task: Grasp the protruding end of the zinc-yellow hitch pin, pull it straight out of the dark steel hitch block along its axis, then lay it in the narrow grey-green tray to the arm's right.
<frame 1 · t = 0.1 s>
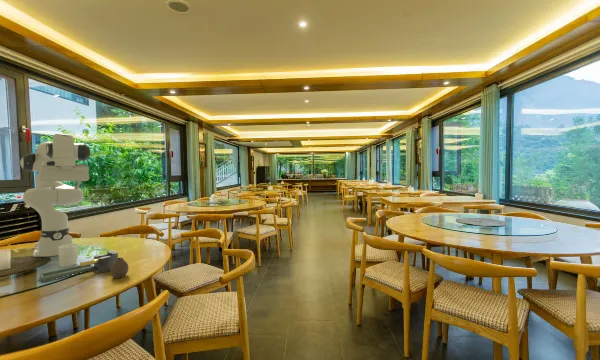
hand: (65, 189, 138), 39 cm above the table, tool pointing down, fingers open, 8 cm apart
hitch block: (105, 269, 131), on the table
hitch pin: (98, 263, 128), point 4 cm above the table, tilted 12°, touching hitch block
tray: (67, 274, 124), on the table
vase: (119, 277, 123), on the table
white cup: (68, 265, 136), on the table
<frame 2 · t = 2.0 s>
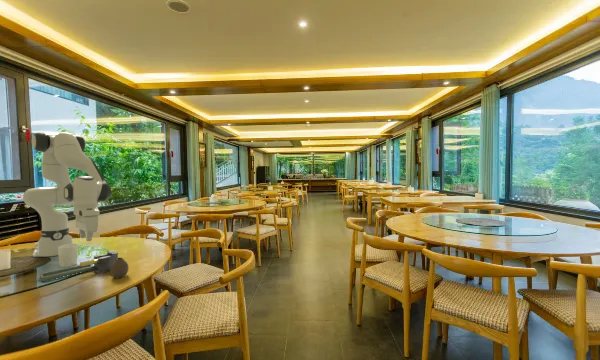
hand: (85, 239, 124), 17 cm above the table, tool pointing down, fingers open, 8 cm apart
nothing on the table moved.
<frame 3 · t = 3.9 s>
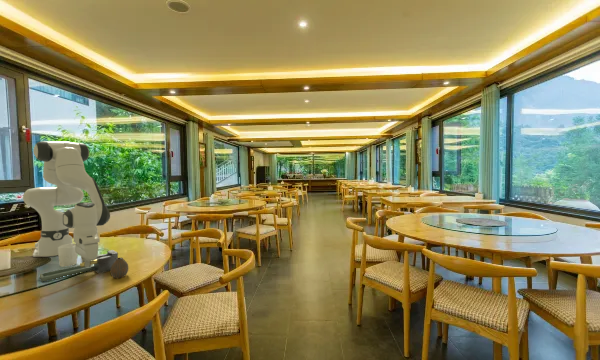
hand: (85, 265, 124), 4 cm above the table, tool pointing down, fingers closed on hitch pin, 2 cm apart
hitch pin: (98, 263, 128), point 4 cm above the table, touching gripper, hitch block
everything else where it was.
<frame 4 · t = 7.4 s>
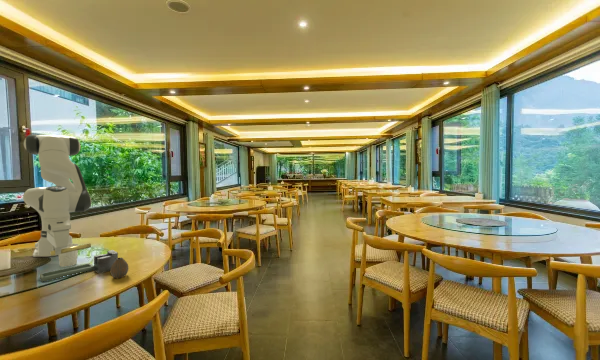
hand: (56, 253, 116), 12 cm above the table, tool pointing down, fingers closed on hitch pin
hitch pin: (71, 251, 120), point 12 cm above the table, touching gripper
everything else where it was.
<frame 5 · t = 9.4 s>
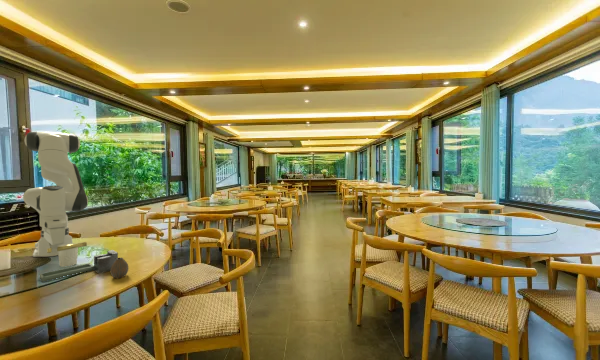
hand: (53, 251, 120), 12 cm above the table, tool pointing down, fingers closed on hitch pin
hitch pin: (67, 249, 124), point 12 cm above the table, touching gripper
everything else where it was.
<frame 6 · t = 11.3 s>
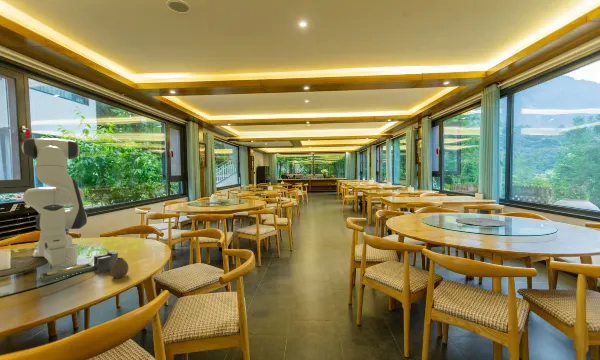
hand: (53, 270, 120), 3 cm above the table, tool pointing down, fingers open, 4 cm apart
hitch pin: (67, 272, 124), point 1 cm above the table, touching tray
everything else where it was.
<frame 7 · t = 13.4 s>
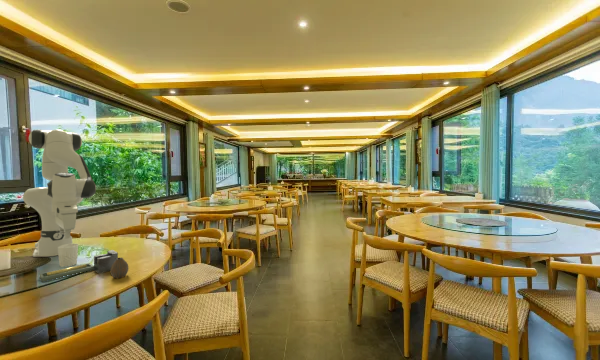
hand: (64, 236, 124), 18 cm above the table, tool pointing down, fingers open, 8 cm apart
nothing on the table moved.
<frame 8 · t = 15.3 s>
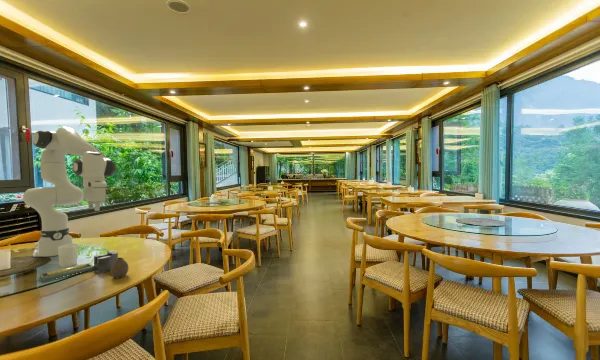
hand: (93, 209, 135), 29 cm above the table, tool pointing down, fingers open, 8 cm apart
nothing on the table moved.
at the end: hitch pin inside the target area on the tray (0.1 cm from its centre), point 0.8 cm above the tray's base; hitch pin moved 12.6 cm from its start; the gripper is holding nothing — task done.
